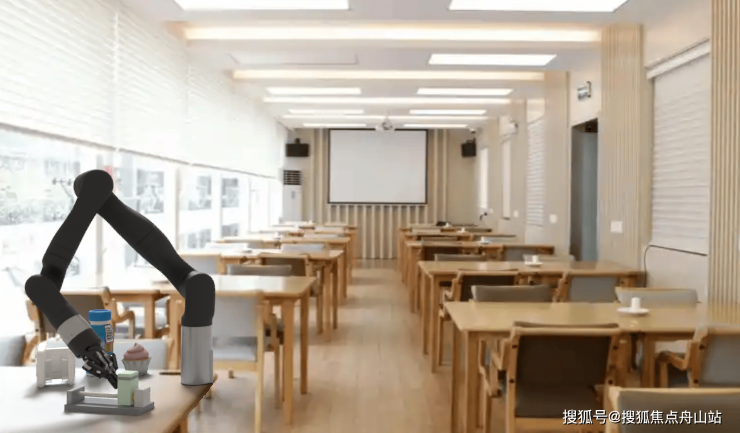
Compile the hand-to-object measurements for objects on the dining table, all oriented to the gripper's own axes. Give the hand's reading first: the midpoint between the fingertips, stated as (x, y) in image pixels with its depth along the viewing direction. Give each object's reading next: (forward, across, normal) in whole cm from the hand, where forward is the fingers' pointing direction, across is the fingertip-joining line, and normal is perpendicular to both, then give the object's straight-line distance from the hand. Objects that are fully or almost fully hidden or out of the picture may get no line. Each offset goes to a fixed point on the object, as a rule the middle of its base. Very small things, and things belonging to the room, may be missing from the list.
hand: (119, 386), depth 195 cm
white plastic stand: (-19, +22, +29) cm, 41 cm away
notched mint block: (+5, 0, +1) cm, 5 cm away
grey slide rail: (+3, 0, +6) cm, 6 cm away
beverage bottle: (-15, +37, +25) cm, 47 cm away
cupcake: (-8, +40, +17) cm, 44 cm away
